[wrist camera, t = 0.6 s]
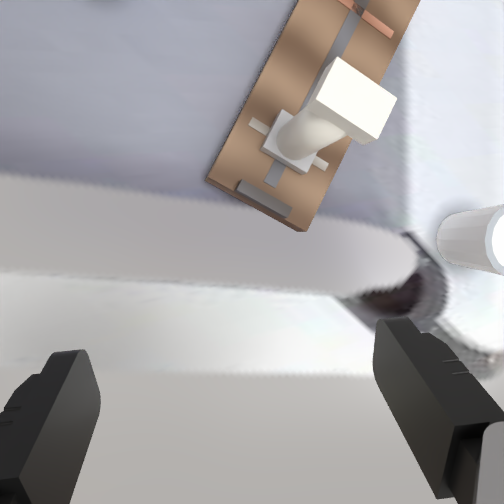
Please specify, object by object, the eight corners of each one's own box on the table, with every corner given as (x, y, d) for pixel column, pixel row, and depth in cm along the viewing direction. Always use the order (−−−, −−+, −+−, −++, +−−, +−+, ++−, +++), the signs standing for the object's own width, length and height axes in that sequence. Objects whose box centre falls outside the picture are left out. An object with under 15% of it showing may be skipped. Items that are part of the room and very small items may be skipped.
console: (297, 231, 37) (311, 231, 33) (204, 180, 35) (210, 174, 31) (410, 2, 39) (435, -21, 35) (329, -61, 36) (347, -93, 33)
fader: (301, 175, 34) (374, 145, 23) (259, 149, 33) (312, 105, 22) (319, 139, 34) (400, 92, 23) (277, 113, 33) (340, 50, 22)
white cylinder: (457, 283, 42) (516, 293, 35) (419, 239, 40) (472, 240, 33) (495, 238, 42) (559, 239, 36) (459, 193, 41) (518, 185, 34)
